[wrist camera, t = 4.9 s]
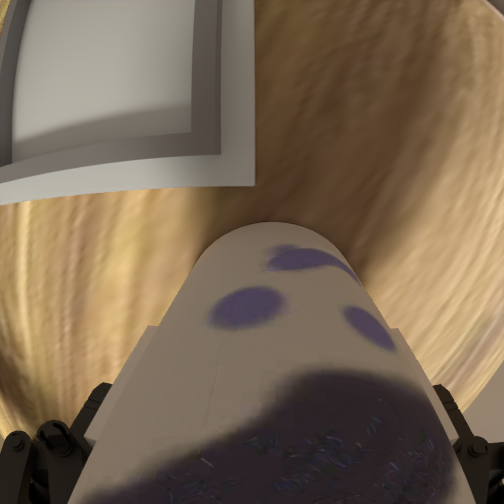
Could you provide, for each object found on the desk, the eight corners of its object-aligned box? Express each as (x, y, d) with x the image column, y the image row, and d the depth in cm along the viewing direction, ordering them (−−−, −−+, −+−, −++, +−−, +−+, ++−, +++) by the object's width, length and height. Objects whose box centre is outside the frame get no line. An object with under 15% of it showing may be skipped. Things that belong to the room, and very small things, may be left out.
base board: (10, 201, 16) (-18, 210, 13) (28, -7, 10) (7, -16, 7) (255, 182, 15) (252, 190, 12) (253, -74, 9) (251, -101, 6)
